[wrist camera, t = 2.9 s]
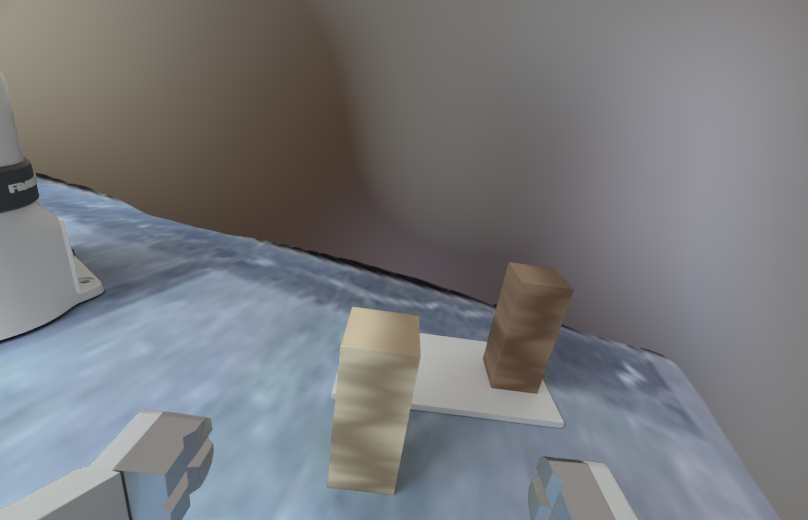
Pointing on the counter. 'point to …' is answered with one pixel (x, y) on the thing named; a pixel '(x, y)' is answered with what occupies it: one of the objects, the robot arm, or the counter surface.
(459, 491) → the counter surface
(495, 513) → the counter surface
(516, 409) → the white mat
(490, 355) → the walnut pillar
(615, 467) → the counter surface
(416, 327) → the birch pillar
